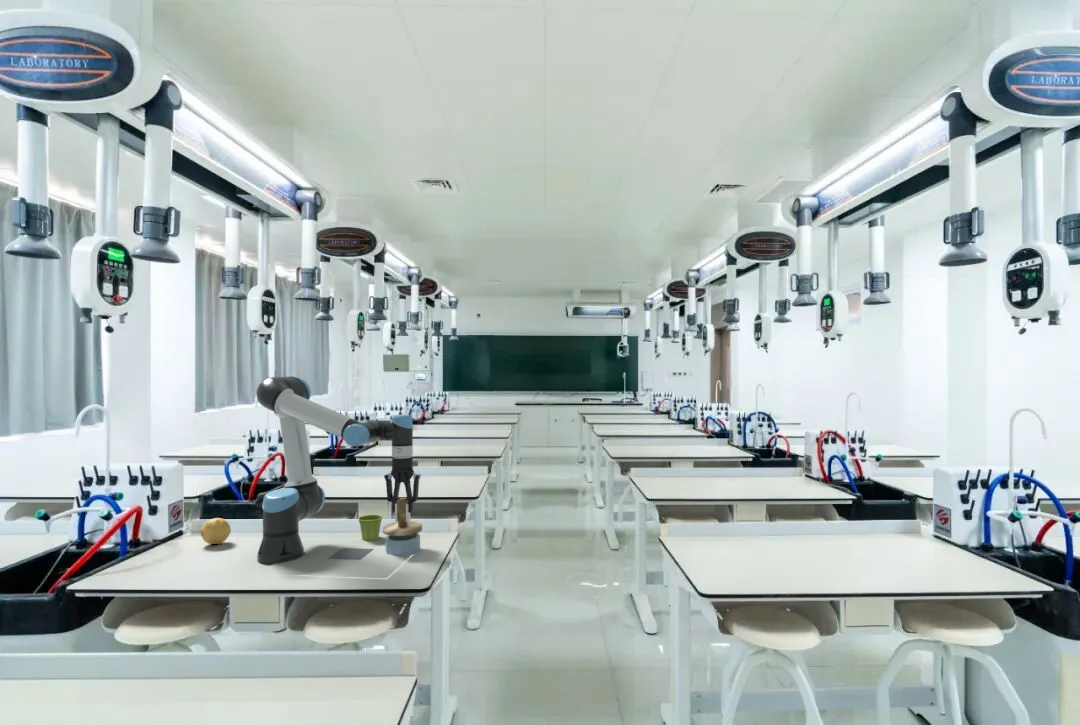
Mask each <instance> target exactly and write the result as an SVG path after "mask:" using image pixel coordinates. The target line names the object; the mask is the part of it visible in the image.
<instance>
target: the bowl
mask: <svg viewBox="0 0 1080 725" xmlns="http://www.w3.org/2000/svg"><path fill="white" fill-rule="evenodd" d="M419 533H420V532H418V533H416V534H412V535H405V536H391V535H386V536H385V537H384V540H385V544H384V546H385V547H384V548H385V553H386V554H387V555H391V556H405V555H406V556H407V555H411V556H412V555H416V554H418V553H419V552H420V551H421V535H420V534H419Z"/></svg>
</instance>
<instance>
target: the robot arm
mask: <svg viewBox="0 0 1080 725" xmlns="http://www.w3.org/2000/svg"><path fill="white" fill-rule="evenodd" d="M256 388H257V389H256V395H255V396H256V399H257V401H258V403H259V404H260V405H261V406H262V407H264V408H265V409H267V410H270V411H271V412H273V413H274V415H275V416H277V417H278V418H279V423H280V430H281V440H282V446H283V453H284V460H285V468H286V476H287V482H286V483H285V484H284V485H283V486H284V487H283V488H279V489H275V490H271V491H269V492H268V493H266V494H265V495H264V496H263V500H262V505H261V506H262V508H261V509H262V540H261V543H260V546H259V549H258V552H257V556H256V557H257V558H256V559H257V562H258V563H261V564H264V565H272V564H278V563H286V562H291V561H295V560H297V559H300V558H301V557H303V556H304V555H305V549H304V548H305V546H304V545H303V542H302V539H301V536H300V532H299V530H300V529H299V528H300V527H299V526H300V523H299V522H300V521H302V520H305V519H307V518H311V517H312V516H314V515H316V514H317V513H319V512H320V511H321V510H322V508H324V504H325V502H326V494H325V491H324V489H323V488H322V487H321V486H320V485H319V484H318V480H317V478H316V477H314V476H313V474H312V473H313V472H312V466H311V458H310V451H309V442H308V435H307V430H306V429H307V428H306V424H309V425H310V426H313V427H315V428H318V429H319V430H322V431H324V432H327V433H330V434H332V435H335V436H336V437H339V438H342V439H343V440H344V442H345V443H346V444H347V445H348V446H351V447H361V446H363V445H366V444H370V443H374V442H378V441H379V442H382V441H383V442H385V441H387V442H388V441H389V442H390V441H391V456H392V458H391V471H390V473H387V474H385V475H384V476H383V477H384V480H385V484H386V497H387V498H386V500H387V502H390V503H392V513H394V523H395V522H398V499H399V495H400V490H401V489H400V488H401V484H402V483H403V484H404V488H405V489H404V490H405V494H406V498H407V504H406V522H409V521H411V513H412V512H413V511H414V510H413V509H414V503H415V502H417V501H418V500H419V488H420V479H421V476H422V474H418V473H415V471H414V457H412V456H413V455H414V448H413V445H414V444H413V443H414V442H413V439H414V438H413V431H414V430H413V429H414V426H413V416H412V415H410V414H394V415H392V416H391V418H390V420H389V419H388V420H387V419H386V420H384V419H381V420H380V419H379V420H378V419H365V420H363V421H362V422H361V421H359V420H356V419H354V418H351V417H350V416H347V415H344V414H342V413H340V412H337V411H335V410H333V409H331V408H328V407H326V406H323V405H321V404H319V403H317V402H314V401H312V400H310V399H311V396H312V395H311V394H312V392H311V391H312V390H311V387H310V385H309V383H308V382H306V380H305V379H303V378H301V377H297V376H271V377H267V378H266V379H264V380H262V381H261V382H260V383H259V384H258V387H256ZM392 478H393V479H394V488H393V482H392ZM412 478H413V485H412V486H413V487H412V486H411V483H412V482H411V479H412Z"/></svg>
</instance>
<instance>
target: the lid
mask: <svg viewBox="0 0 1080 725" xmlns="http://www.w3.org/2000/svg"><path fill="white" fill-rule="evenodd" d="M407 503H408V501H407V497H400V498H399V497H398V521H397V522H395V521H394V522H391V523H387V524H386V525H384V526H383V527H382V532H383V534H384V535H386V536H387V535H391V536H405V535H412V534H416V533H420V532H421V531H423V524H422V523H421V522H418V521H412V520H410V521H409V522H406V504H407Z"/></svg>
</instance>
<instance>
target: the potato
mask: <svg viewBox="0 0 1080 725" xmlns="http://www.w3.org/2000/svg"><path fill="white" fill-rule="evenodd" d="M231 531H232V530H231V525H230V523H229V522H228V521H227V520H226V519H224V518H220V517H215V518H211V519H209V520H208V521H206V522H205V523H204V525H203V526H202V528H201V529H200V536H201V538H202V540H203V541H204V542H205V543H207V544H209V545H212V544H219V545H221V544H222V543H223V542H226V540H227V539H228V537H229V536H230V534H231Z"/></svg>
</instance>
